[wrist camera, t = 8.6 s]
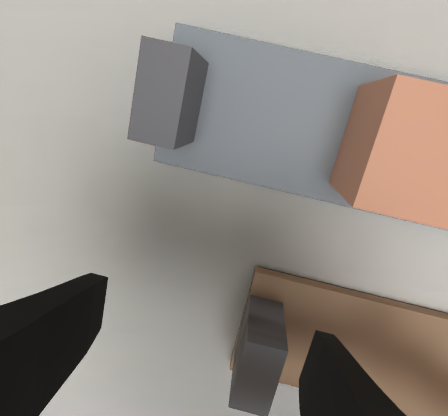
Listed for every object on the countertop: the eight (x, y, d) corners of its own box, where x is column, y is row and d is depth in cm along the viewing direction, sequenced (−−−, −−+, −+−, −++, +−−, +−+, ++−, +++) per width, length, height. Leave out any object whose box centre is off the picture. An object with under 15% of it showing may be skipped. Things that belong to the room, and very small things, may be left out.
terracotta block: (422, 205, 18) (480, 237, 13) (328, 183, 18) (352, 207, 14) (461, 108, 17) (541, 105, 12) (359, 85, 17) (397, 73, 12)
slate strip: (472, 233, 19) (547, 275, 14) (157, 158, 20) (122, 173, 15) (531, 103, 17) (642, 99, 12) (179, 26, 18) (147, -8, 13)
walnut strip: (505, 432, 22) (576, 525, 17) (230, 360, 23) (222, 429, 18) (557, 340, 20) (656, 415, 15) (256, 266, 21) (254, 314, 16)
